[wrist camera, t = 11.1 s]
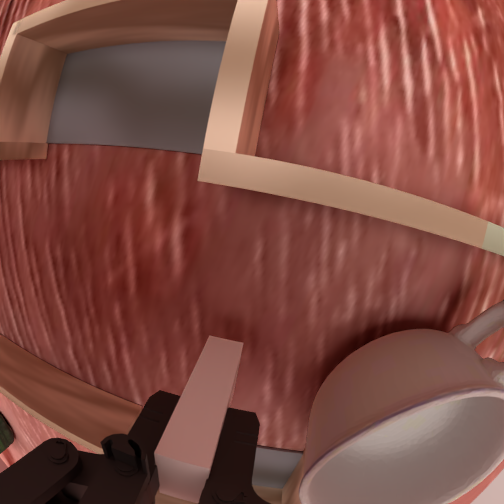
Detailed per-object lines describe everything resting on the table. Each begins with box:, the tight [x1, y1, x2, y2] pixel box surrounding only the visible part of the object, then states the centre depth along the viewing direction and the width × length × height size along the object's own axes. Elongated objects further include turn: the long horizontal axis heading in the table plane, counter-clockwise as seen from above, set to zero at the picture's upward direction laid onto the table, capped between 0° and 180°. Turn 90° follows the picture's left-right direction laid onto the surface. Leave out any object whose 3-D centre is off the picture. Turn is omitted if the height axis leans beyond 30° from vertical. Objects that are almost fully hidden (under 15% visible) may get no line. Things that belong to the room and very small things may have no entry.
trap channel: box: [0, 0, 504, 504], centre depth 13 cm, size 32×45×5 cm
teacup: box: [299, 300, 504, 504], centre depth 11 cm, size 14×11×8 cm
